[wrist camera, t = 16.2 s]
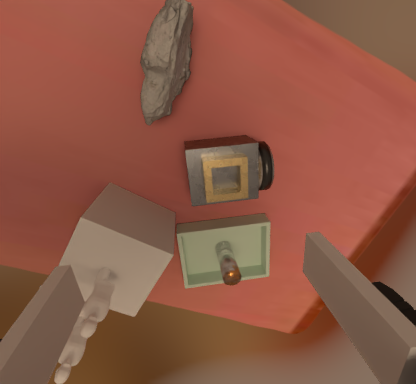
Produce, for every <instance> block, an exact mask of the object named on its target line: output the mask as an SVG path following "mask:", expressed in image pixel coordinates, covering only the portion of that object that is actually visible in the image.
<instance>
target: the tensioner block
mask: <svg viewBox="0 0 416 384" xmlns="http://www.w3.org/2000/svg"><path fill="white" fill-rule="evenodd" d="M184 142H185V153H186V161H187V170H188V178H189V186H190V194H191V203H192V206H199V205H207V204H215V203H224V202H232V201H240V200H248V199H257V198H258V191H259V190H267V189H269V188H270V186H271V185H272V183H273V179H274V161H273V156H272V152H271V149H270V147H269V146H268V145H267V144H266V143H265V142H264V141H262V142H257V141H255V140H253V139H252V138H250V137H248V136H247V135H242V136H233V137H223V138H213V139H203V140H194V141H184Z"/></svg>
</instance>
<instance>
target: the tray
mask: <svg viewBox="0 0 416 384" xmlns="http://www.w3.org/2000/svg"><path fill="white" fill-rule="evenodd" d="M177 239H178V246H179V252H180V259H181V265H182V271H183V278H184V284H185V288H192V287H199V286H206V285H213V284H220V283H224V281H223V277H222V273H221V269H220V265H219V261H218V257H217V253H216V249H215V247H216V245H217V243H219V242H220V241H227V242H229V243H230V245H231V248H232V251H233V254H234V256H235V259H236V262H237V265H238V268H239V270H240V273H241V280H248V279H255V278H262V277H269V258H270V221H269V219H268V218H267V217H266V215H265V214H264V213H261V214H253V215H245V216H237V217H229V218H221V219H214V220H206V221H198V222H190V223H182V224H177ZM241 280H240V281H241Z"/></svg>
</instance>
